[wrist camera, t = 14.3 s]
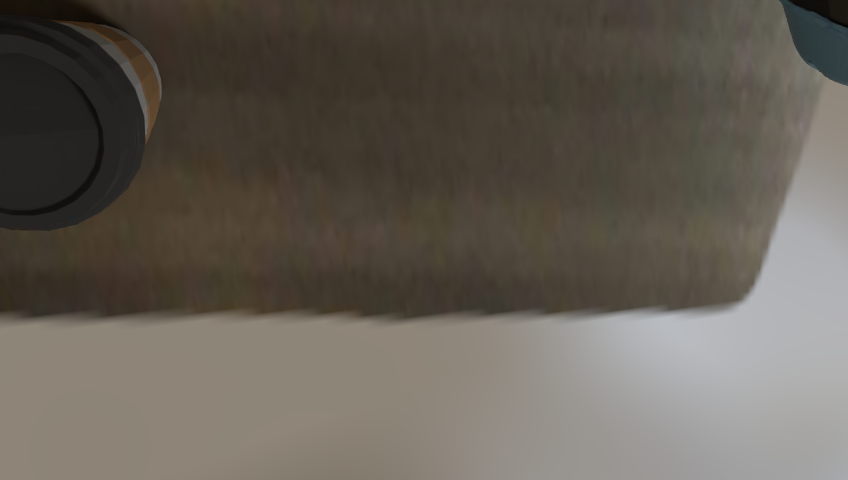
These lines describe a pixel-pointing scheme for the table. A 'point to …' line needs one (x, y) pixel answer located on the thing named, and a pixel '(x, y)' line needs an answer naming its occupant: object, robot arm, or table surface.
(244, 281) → the table surface
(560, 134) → the table surface
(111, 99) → the coffee cup
